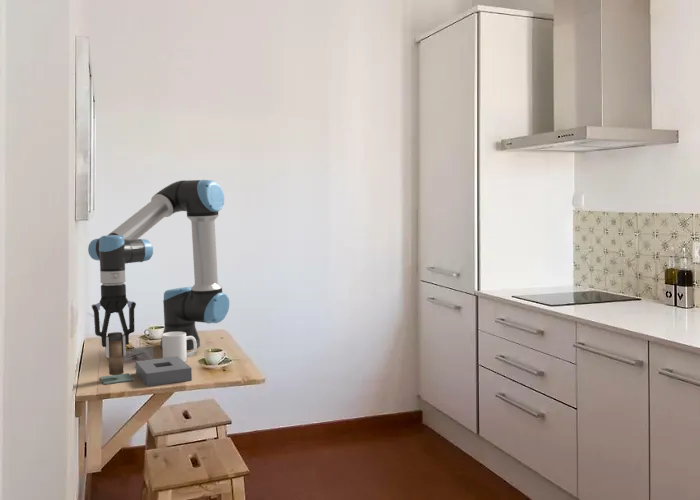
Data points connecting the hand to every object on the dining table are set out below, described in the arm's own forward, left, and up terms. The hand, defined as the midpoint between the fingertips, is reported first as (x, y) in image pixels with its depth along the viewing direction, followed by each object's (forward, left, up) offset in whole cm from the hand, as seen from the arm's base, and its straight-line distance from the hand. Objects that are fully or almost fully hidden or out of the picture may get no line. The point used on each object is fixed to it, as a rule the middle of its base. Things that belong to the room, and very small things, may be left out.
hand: (115, 355), depth 220 cm
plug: (0, 0, -6) cm, 6 cm away
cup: (-14, +24, -8) cm, 29 cm away
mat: (0, 0, -8) cm, 8 cm away
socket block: (+4, +14, -8) cm, 17 cm away
